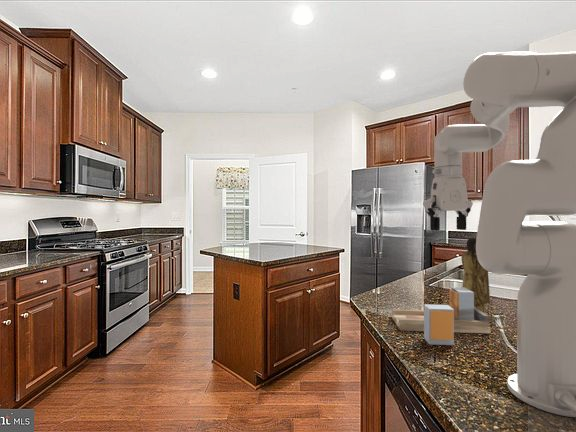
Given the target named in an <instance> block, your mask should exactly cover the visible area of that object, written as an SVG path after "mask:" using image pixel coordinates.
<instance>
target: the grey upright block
mask: <svg viewBox="0 0 576 432" xmlns="http://www.w3.org/2000/svg"><path fill="white" fill-rule="evenodd" d="M423 310H424V331H423V339H424V340H425V341H426V342H427V344H428V345H437V346H440V345H442V346H443V345H444V346H455V332H454V309H453V308H451V307H450V306H449V304H427V303H425V304H423Z"/></svg>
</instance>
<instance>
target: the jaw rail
mask: <svg viewBox="0 0 576 432" xmlns="http://www.w3.org/2000/svg"><path fill="white" fill-rule="evenodd" d="M448 300H449V302H448V303H449V304H448V305H449V306H450V307H451V308H453V309H454V333H463V334H464V333H465V334H466V333H467V334H491V332H492V331H491V327H490V318H489V317H490V316H489V315H488V314H487V315H486V314H485V313H483V312H482V311H480V310H479V309H477V308H475V307H474V292H472V291H470V290H469V289H467V288H465V287H458V286H457V287H455V286H452V287H450V288H449V297H448ZM391 318H392V320H393V322H394V323H395V324H396V326H397V327H398V329H399V331H404V332H405V331H406V332H408V331H410V332H411V331H412V332H424V309H394V308H393V309H391Z"/></svg>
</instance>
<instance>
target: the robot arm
mask: <svg viewBox="0 0 576 432" xmlns="http://www.w3.org/2000/svg"><path fill="white" fill-rule="evenodd" d="M462 84H463V89H464V93H465V94H466V96H468V97H469V98H471V99H472V101H471V103H470V105H469V106H470V113H471V115H472V117H473V118H474V119H475V120H476V121H477V122H478V123H479V124H478V123H477V124H473V123H472V124H452V125H451V124H450V125H446V126H444V127H443V128H442V129H441V130H440V132H439V133H437V134H436V136H434V142H433V143H434V150H433V151H434V153H433V154H434V168H433V170H432V171H431V172H432V174H433V175H434V178H433V179H432V184H431V189H430V190H431V191H430V198H428V199H426V200H425V201H423V203H422V205H423V208H424V211H425V213H426V214H427V215H428V217H429V218H430V219H429V221H430V222H429V224H430V227H429V229H430V231H437V232H439V231H440V230H441V229H440V228H441V227H440V226H441V225H440V223H441V221H440V220H441V219H440V216H439V215H440V214H441V212H442V211H444V212H445V211H446V212H448V211H449V212H450V211H451V212H452V211H454V212H455V213H456V214H457V216H456V230H460V231H466V230H467V217H468V216H469V214H470V213H471V211H472V210H471V209H472V206H473V204H474V202H472V201H471V200H470V199H468V191H467V190H468V189H467V183H466V180H465V177H463V153H482V152H483V153H484V152H487V151H489V150H492V149H493V148H494V147H495V146H497V145H498V144H499V143H500V142H502V140H504V139H505V137H506V135H507V133H508V131H509V127H510V125H511V124H510V123H511V120H510V119H511V118H510V115H511V114H512V113H513V112H514V111H515V110H516V109H518V108H543V107H544V108H545V107H562V109H561V110H560V111H558V112H557V114H555V115H554V117H552V119H551V120H550V122H549V123H548V124H547V125H546V127H545V128H544V130H543V132H542V133H541V134H542V135H541V138H540V144H539V149H538V151H537V156H536V158H535V159H524V160H523V159H519V160H509V161H505V162H502V163H500V164H499V165H497V166H496V167H494V169H492V170H491V172H490V173H489V175H488V177H487V178H486V181H485V185H484V189H483V193H482V199H481V206H480V210H479V211H480V212H479V218H478V225H477V232H476V237H475V238H476V253H475V254H476V255H477V258H478V261H479V263H480V265H481V266H482V267H483V268H484V269H485V270H487V271H488V273H489V272H490V273H492V274H495V275H509V276H510V275H517V276H518V275H521V276H522V275H526V277H525V278H524V280H523V281H522V282H521V283H522V284H521V285H520V287H519V290H518V293H517V298H516V301H517V302H516V303H517V304H516V305H517V306H516V312H517V313H516V349H517V350H516V356H517V357H516V361H517V362H516V365H517V366H516V367H517V368H516V373H514V374H511V375H509V376H508V378H507V380H506V381H507V382H506V386H507V388H508V391H510V393H511V394H512V395H514V396H515V397H516V398H517V399H518V400H520V401H522V402H523V403H526V404H527V405H529V406H531V407H533V408H536V409H538V410H542V411H545V412H547V413H550V414H555V415H558V416H563V417H569V418H576V224H574V223H571V222H566V221H562V220H561V221H559V220H558V221H557V220H527V221H525V218H526V217H541V216H542V217H556V216H573V215H576V51H569V52H568V51H566V52H564V51H563V52H554V53H553V52H550V53H549V52H547V53H537V52H533V51H505V52H503V51H501V52H486V53H485V52H484V53H483V54H480V55H479V56H477V57H476V58H475V59H474V60H473V61H472V62H471V63H470V64H469V66H468V67H467V69H466V72H465V74H464V78H463V83H462Z"/></svg>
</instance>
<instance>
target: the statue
mask: <svg viewBox="0 0 576 432" xmlns="http://www.w3.org/2000/svg"><path fill="white" fill-rule="evenodd" d="M476 238H477V237H474V236H473V237H469V238H467V240H466V248H467V251H465V252H463V253H462V255H461V257H460V258H461V265H462V268H463V276H462V283H461V284H462V285H461V286H462V287H465V288H467V289H469V290H470V291H472V292H474V307H475V308H477V309H479V310H480V311H482V312H483V313H485V314H486V315H488V312H487V311H486V308H485V305H486V304H490V303H491V295H490V282H489V281H490V280H489V271H487V270H485V269H484V268H483V267H482V266H481V265H480V263H479V261H478V258H477V254H476Z"/></svg>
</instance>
